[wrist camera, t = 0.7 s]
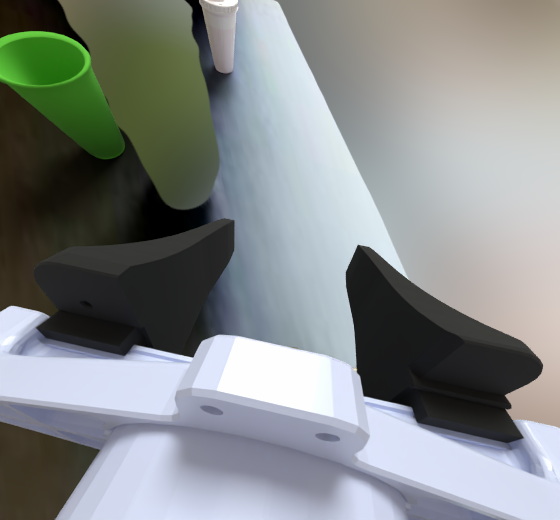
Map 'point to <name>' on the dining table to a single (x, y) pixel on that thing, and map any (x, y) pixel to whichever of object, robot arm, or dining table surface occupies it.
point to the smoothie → (221, 31)
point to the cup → (61, 88)
